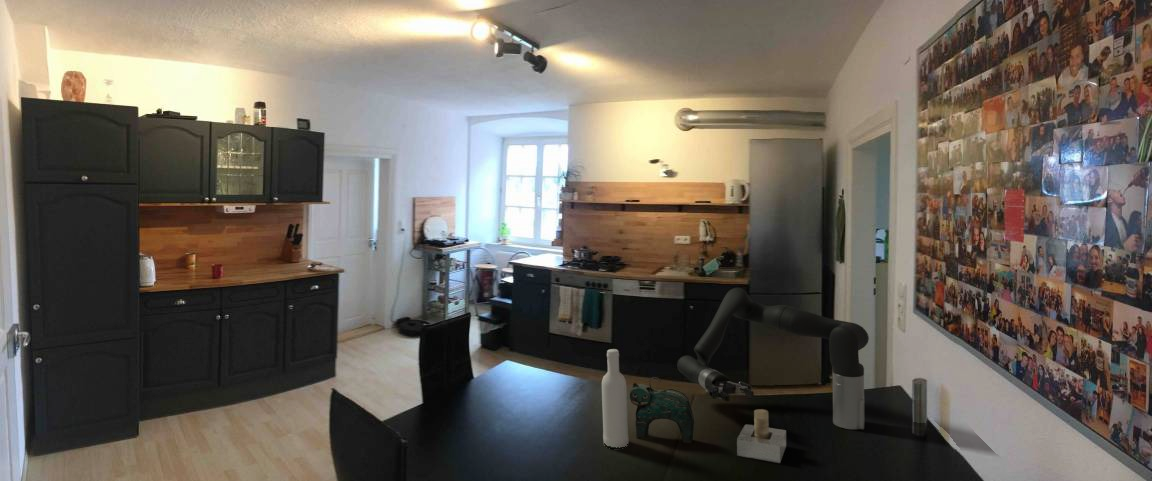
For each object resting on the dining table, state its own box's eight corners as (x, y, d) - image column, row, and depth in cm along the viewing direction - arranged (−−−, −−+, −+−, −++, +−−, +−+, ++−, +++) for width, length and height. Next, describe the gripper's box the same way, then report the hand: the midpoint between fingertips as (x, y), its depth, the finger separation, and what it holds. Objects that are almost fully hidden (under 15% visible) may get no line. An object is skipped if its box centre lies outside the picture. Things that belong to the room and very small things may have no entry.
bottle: (611, 451, 170) (608, 355, 168) (598, 442, 177) (595, 349, 175) (633, 445, 174) (630, 351, 172) (620, 436, 181) (617, 345, 179)
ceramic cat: (630, 439, 179) (628, 377, 178) (635, 431, 185) (633, 371, 184) (692, 446, 172) (691, 382, 171) (695, 437, 178) (694, 376, 177)
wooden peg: (770, 449, 168) (769, 410, 167) (767, 454, 165) (767, 415, 164) (756, 446, 170) (755, 408, 169) (753, 452, 167) (752, 413, 166)
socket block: (786, 446, 170) (785, 430, 169) (780, 463, 159) (779, 446, 159) (745, 439, 175) (745, 424, 175) (737, 455, 165) (736, 439, 165)
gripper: (695, 373, 190) (720, 388, 174) (731, 368, 194) (760, 382, 178) (695, 395, 190) (721, 411, 175) (732, 389, 194) (760, 405, 179)
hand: (740, 396), depth 177 cm, fingers open, 8 cm apart
